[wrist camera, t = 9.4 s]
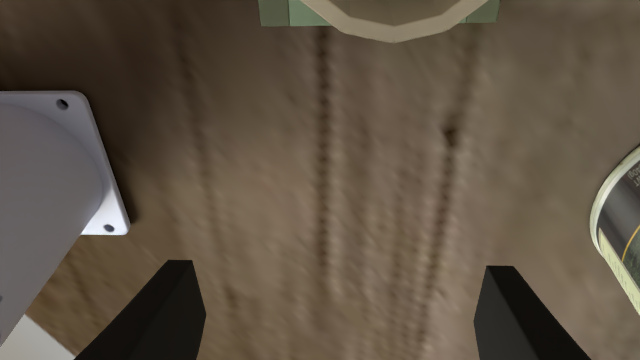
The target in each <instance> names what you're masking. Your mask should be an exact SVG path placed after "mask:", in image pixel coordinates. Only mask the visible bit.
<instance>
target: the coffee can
mask: <svg viewBox="0 0 640 360" xmlns="http://www.w3.org/2000/svg"><path fill="white" fill-rule="evenodd" d="M590 231H591V236H592V240H593V242H594V244H595V246H596V248H597V250H598V251H599V253H600V254H601V255H602V256H603V258H604V259H605V260H606V262H607V263H608V264H609V266H610V267H611V269H612V271H613V272H614V274H615V276H616V277H617V279H618V281H619V282H620V284H621V286H622V287H623V289H624V290H625V292H626V294H627V295H628V297H629V299H630V300H631V302H632V304H633V305H634V307H635V309H636V310H637V312H638V314H639V315H640V146H639V147H637V148H636V149H634V150H633V151H632V152H631V153H630V154H629V155H628V156H626V157H625V158H624V159H623V160H622V161H621V162H620V164H619V165H618V166H617V167H616V168H615V169H614V170H613V171H612V172H611V173H610V175H609V176H608V177H607V179H606V180H605V181H604V183H603V184H602V186H601V188H600V190H599V192H598V193H597V196H596V198H595V200H594V203H593V206H592V210H591V215H590Z"/></svg>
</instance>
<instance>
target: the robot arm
mask: <svg viewBox="0 0 640 360" xmlns="http://www.w3.org/2000/svg"><path fill="white" fill-rule="evenodd" d="M61 99H62V100H64V101H66V102H67V104H68V106H65V105H64V104H63V103H62V102H61ZM108 224H109V225H111V226H113V227H111V226H109V225H108ZM130 227H131V224H130V221H129V218H128V215H127V212H126V209H125V207H124V204H123V201H122V198H121V195H120V192H119V189H118V186H117V183H116V180H115V178H114V175H113V172H112V169H111V166H110V163H109V160H108V157H107V154H106V151H105V149H104V146H103V143H102V140H101V137H100V134H99V131H98V128H97V125H96V122H95V120H94V117H93V114H92V111H91V108H90V105H89V102H88V100H87V98H86V97H85V96H84V95H83V94H82V93H80V92H78V91H0V347H1V346H2V344H3V343H4V341H5V340H6V339H7V337H8V336H9V334H10V333H11V332H12V330H13V329H14V327H15V326H16V324H17V323H18V322H19V320H20V319H21V317H22V316H23V315H24V313H25V312H26V310H27V309H28V308H29V306H30V305H31V303H32V302H33V301H34V299H35V298H36V296H37V295H38V293H39V292H40V291H41V289H42V288H43V286H44V285H45V284H46V282H47V281H48V279H49V278H50V277H51V275H52V274H53V272H54V271H55V269H56V268H57V267H58V265H59V264H60V262H61V261H62V260H63V258H64V257H65V255H66V254H67V253H68V251H69V250H70V248H71V247H72V246H73V244H74V243H75V241H76V240H77V238H78V237H79V236H80V235H125V234H126V233H128V231H129V229H130ZM205 318H206V311H205V307H204V304H203V300H202V296H201V292H200V288H199V285H198V281H197V277H196V273H195V269H194V266H193V262H192V260H168V261H167V262H166V263H165V264H164V265H163V266H162V267H161V268H160V269H159V270H158V271H157V273H156V274H155V275H154V276H153V277H152V278H151V279H150V280H149V282H148V283H147V284H146V285H145V286H144V287H143V288H142V289H141V290H140V292H139V293H138V294H137V295H136V296H135V297H134V298H133V299H132V300H131V301H130V303H129V304H128V305H127V306H126V307H125V308H124V309H123V310H122V311H121V312H120V313H119V314H118V315H117V316H116V318H115V319H114V320H113V321H112V322H111V323H110V324H109V325H108V326H107V327H106V328H105V329H104V330H103V331H102V332H101V333H100V334H99V335H98V336H97V337H96V338H95V339H94V340H93V341H92V342H91V343H90V344H89V345H88V346H87V347H86V348H85V349H84V350H83V351H82V352H81V353H80V354H79V355H78V356H77V357H76V358H75V359H74V360H196V358H197V355H198V351H199V347H200V342H201V338H202V333H203V328H204V323H205ZM474 327H475V333H476V340H477V346H478V351H479V357H480V360H591V359H590V358H589V357H588V355H587V354H586V353H585V352H584V351H583V350H582V349H581V348H580V347H579V345H578V344H577V343H576V342H575V341H574V340H573V338H572V337H571V336H570V335H569V334H568V333H567V332H566V330H565V329H564V328H563V327H562V326H561V325H560V323H559V322H558V321H557V320H556V319H555V317H554V316H553V315H552V314H551V313H550V311H549V310H548V309H547V308H546V306H545V305H544V304H543V303H542V302H541V300H540V299H539V298H538V297H537V295H536V294H535V293H534V291H533V290H532V289H531V288H530V286H529V285H528V284H527V283H526V281H525V280H524V279H523V277H522V276H521V275H520V274H519V272H518V271H517V270H516V269H515V268H514V267H513V266H486V271H485V275H484V279H483V283H482V288H481V292H480V296H479V300H478V305H477V309H476V313H475V317H474Z"/></svg>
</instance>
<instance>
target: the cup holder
mask: <svg viewBox="0 0 640 360" xmlns="http://www.w3.org/2000/svg"><path fill="white" fill-rule="evenodd" d="M500 2H501V0H489V1H487V2H486V3H485V4H483V5H482V6H480V7H479V8H478V9H476V10H475V11H474V12H472V13H471V14H470V15H468V16H467V17H465V18H464V19H463V20H461V21H460V22H459V23H465V22H467V23H485V22H496V21H497V18H498V13H499V7H500ZM258 6H259V16H260V25H261V26H262V27H268V26H328V25H331V24H330V23H328V22H327V21H326V20H325V19H323V18H322V17H321V16H319V15H318V14H317V13H316V12H314V11H313V10H312V9H310V8H309V7H308V6H307V5H305V4H304V3H303V2H301V1H300V0H258Z"/></svg>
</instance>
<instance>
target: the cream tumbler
mask: <svg viewBox="0 0 640 360" xmlns="http://www.w3.org/2000/svg"><path fill="white" fill-rule="evenodd" d="M300 1H301V2H303V3H304V4H305V5H307V6H308V7H309V8H310V9H312V10H313V11H314V12H316V13H317V14H318V15H319V16H321V17H322V18H323V19H325V20H326V21H327V22H328V23H330V24H331V25H332V26H334V27H335V28H336V29H337V30H339V31H340V32H343V33H345V34H349V35H354V36H359V37H364V38H368V39H373V40H378V41H383V42H387V43H393V42H394V43H399V42H403V41H407V40H411V39H416V38H420V37H424V36H428V35H433V34H437V33H441V32H445V31H446V30H449V29H450V28H452V27H453V26H455V25H456V24H457V23H459V22H460V21H461V20H463V19H464V18H465V17H467V16H468V15H470V14H471V13H472V12H474V11H475V10H476V9H478V8H479V7H480V6H482V5H483V4H485V3H486V2H487V1H489V0H300Z"/></svg>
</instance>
